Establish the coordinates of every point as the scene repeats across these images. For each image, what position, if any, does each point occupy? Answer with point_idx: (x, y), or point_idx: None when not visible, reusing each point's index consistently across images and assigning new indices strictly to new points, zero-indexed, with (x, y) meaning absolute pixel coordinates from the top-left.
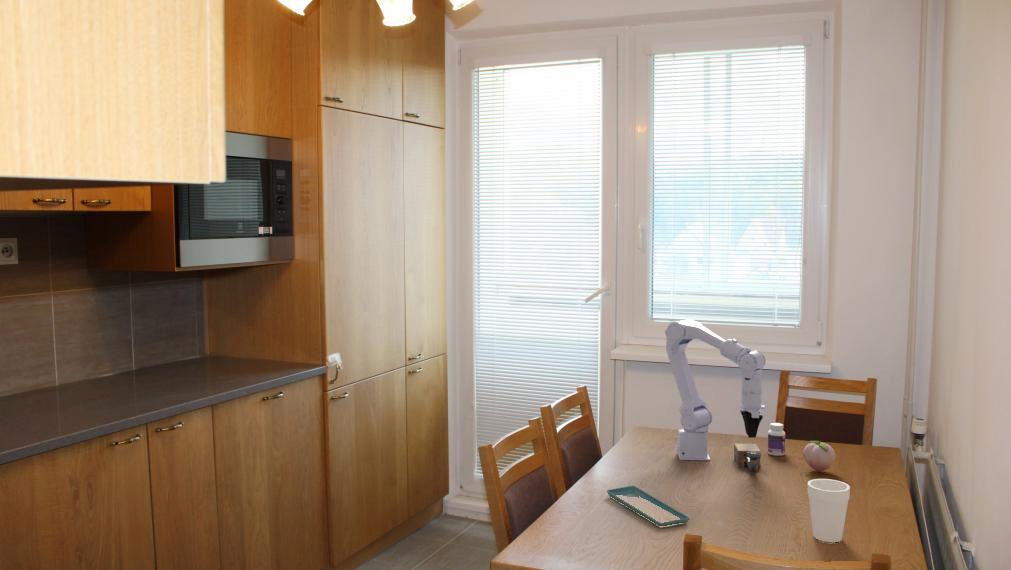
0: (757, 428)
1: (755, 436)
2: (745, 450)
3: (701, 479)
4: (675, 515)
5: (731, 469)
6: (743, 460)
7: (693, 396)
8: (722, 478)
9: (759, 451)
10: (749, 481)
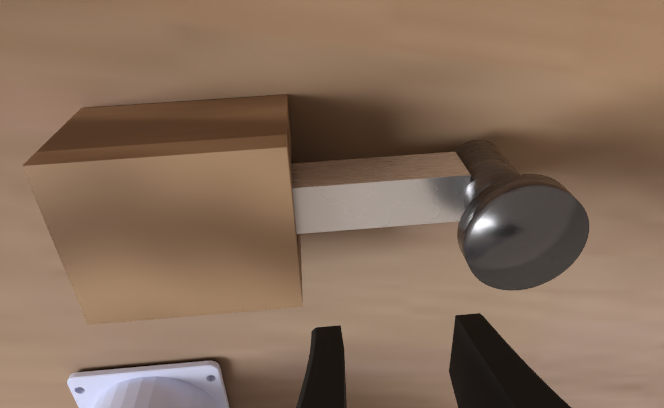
0: (567, 406)
1: (488, 325)
2: (285, 260)
3: None
4: None
5: (362, 266)
6: None
7: None
8: (526, 309)
9: (286, 154)
10: (595, 188)
